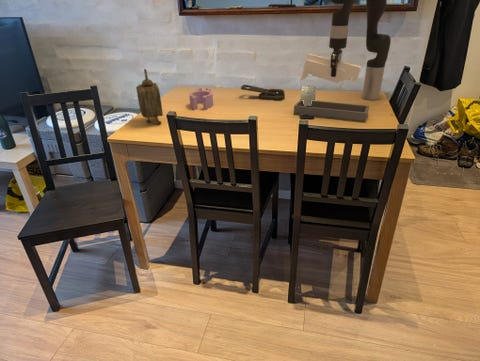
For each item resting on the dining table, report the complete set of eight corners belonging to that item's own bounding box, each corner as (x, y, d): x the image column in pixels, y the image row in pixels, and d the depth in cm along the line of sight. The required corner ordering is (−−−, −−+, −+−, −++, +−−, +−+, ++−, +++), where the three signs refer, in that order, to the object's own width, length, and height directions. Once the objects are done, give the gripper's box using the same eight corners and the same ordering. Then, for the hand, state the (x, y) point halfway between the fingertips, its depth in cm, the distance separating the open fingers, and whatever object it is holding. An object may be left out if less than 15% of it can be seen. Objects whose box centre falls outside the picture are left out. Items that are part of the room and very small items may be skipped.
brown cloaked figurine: (164, 125, 165) (156, 71, 153) (145, 128, 163) (135, 73, 150) (159, 116, 177) (152, 65, 165) (141, 118, 174) (132, 67, 162)
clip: (194, 99, 202) (193, 87, 199) (215, 99, 201) (214, 87, 198) (188, 110, 185) (187, 97, 181) (211, 110, 184) (210, 97, 181)
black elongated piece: (243, 83, 204) (286, 85, 198) (243, 95, 208) (285, 97, 202) (239, 87, 197) (283, 89, 191) (239, 99, 200) (283, 101, 194)
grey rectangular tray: (300, 107, 183) (300, 99, 181) (367, 114, 171) (369, 105, 169) (293, 114, 174) (294, 105, 172) (364, 122, 161) (366, 113, 159)
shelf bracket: (301, 78, 171) (308, 52, 165) (352, 92, 166) (361, 65, 160) (299, 81, 167) (306, 54, 160) (351, 95, 162) (361, 68, 155)
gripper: (344, 38, 148) (339, 79, 156) (349, 34, 159) (345, 72, 167) (326, 38, 150) (323, 78, 159) (333, 34, 162) (329, 71, 170)
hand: (334, 75), depth 163 cm, fingers closed on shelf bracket, 5 cm apart
